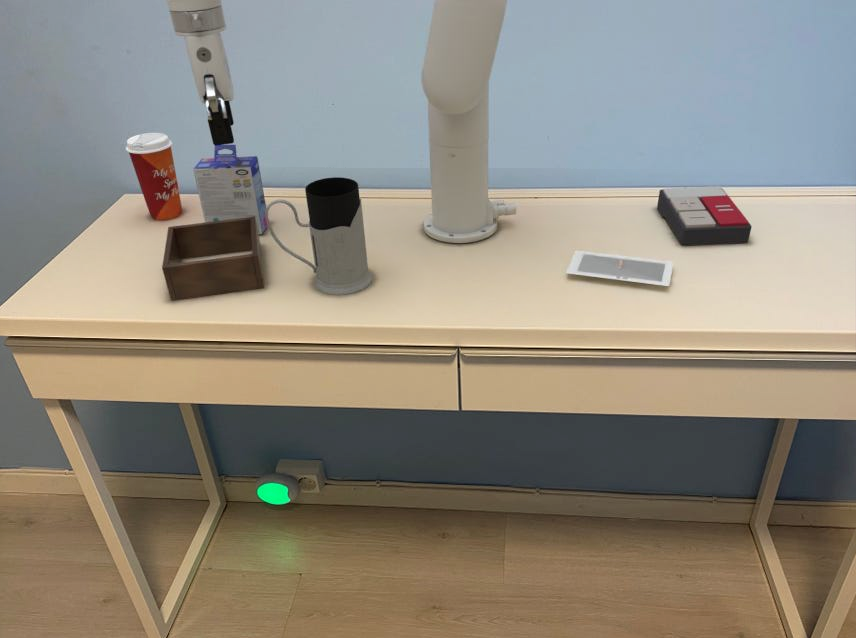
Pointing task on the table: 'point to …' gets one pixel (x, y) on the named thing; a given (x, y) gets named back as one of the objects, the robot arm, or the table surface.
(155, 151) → the paper cup
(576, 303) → the table surface
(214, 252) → the desk bin
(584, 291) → the table surface
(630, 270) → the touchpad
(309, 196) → the glass holder
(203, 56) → the robot arm
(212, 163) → the ink cartridge box
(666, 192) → the calculator
